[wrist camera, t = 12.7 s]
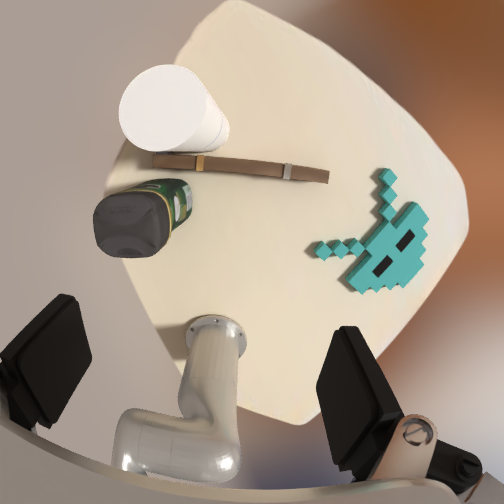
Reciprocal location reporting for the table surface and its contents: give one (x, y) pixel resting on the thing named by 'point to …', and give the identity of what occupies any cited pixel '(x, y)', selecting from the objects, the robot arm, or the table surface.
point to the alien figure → (386, 246)
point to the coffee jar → (141, 217)
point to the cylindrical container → (171, 112)
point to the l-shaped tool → (239, 166)
